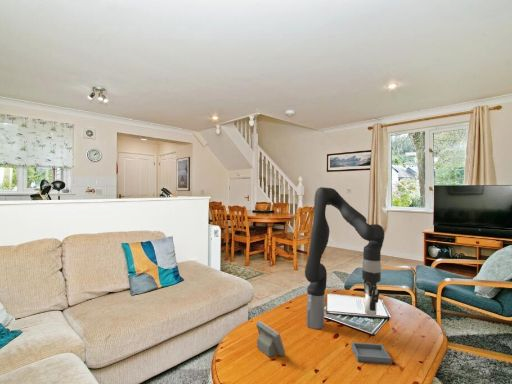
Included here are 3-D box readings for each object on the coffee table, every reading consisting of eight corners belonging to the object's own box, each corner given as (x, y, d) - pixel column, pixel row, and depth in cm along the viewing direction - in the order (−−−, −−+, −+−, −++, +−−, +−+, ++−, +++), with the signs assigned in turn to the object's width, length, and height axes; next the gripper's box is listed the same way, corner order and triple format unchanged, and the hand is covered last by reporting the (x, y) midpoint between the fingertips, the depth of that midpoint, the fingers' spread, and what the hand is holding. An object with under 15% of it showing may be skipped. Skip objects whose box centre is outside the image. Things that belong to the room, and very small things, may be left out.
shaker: (366, 315, 116) (367, 292, 116) (363, 310, 120) (364, 288, 120) (377, 315, 115) (378, 292, 115) (374, 311, 120) (374, 289, 120)
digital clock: (286, 357, 116) (287, 332, 116) (268, 362, 112) (268, 337, 112) (269, 338, 130) (270, 316, 131) (253, 342, 127) (253, 320, 127)
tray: (357, 361, 113) (357, 356, 113) (351, 347, 124) (351, 342, 124) (391, 364, 112) (391, 358, 112) (381, 349, 122) (381, 344, 122)
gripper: (358, 264, 125) (357, 300, 125) (367, 273, 111) (366, 314, 111) (374, 265, 124) (374, 301, 124) (386, 274, 110) (385, 315, 110)
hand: (370, 307), depth 118 cm, fingers closed on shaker, 4 cm apart
